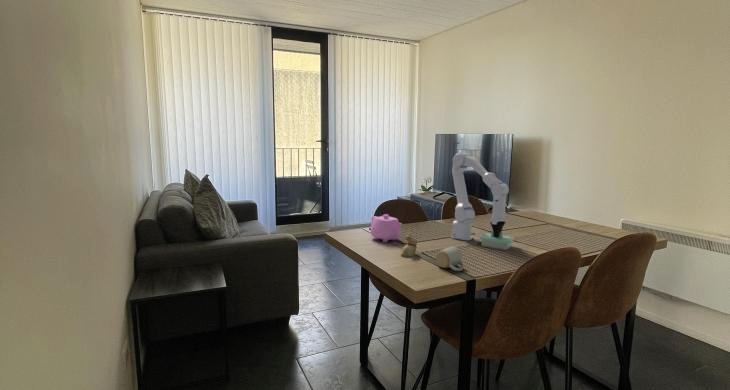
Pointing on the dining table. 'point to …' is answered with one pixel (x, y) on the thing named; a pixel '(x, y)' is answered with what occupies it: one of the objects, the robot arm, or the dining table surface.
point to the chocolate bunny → (409, 246)
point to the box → (495, 245)
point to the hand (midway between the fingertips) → (496, 236)
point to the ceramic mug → (450, 258)
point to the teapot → (385, 228)
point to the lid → (497, 238)
